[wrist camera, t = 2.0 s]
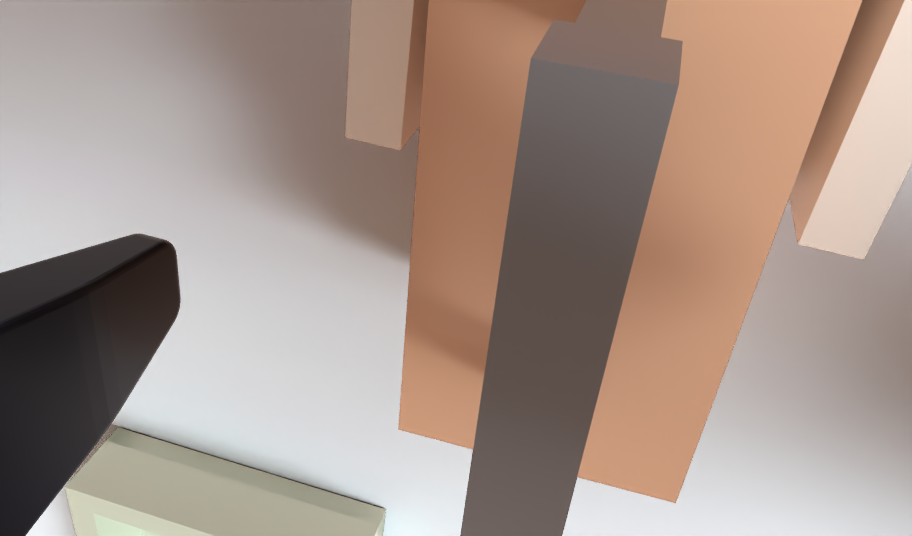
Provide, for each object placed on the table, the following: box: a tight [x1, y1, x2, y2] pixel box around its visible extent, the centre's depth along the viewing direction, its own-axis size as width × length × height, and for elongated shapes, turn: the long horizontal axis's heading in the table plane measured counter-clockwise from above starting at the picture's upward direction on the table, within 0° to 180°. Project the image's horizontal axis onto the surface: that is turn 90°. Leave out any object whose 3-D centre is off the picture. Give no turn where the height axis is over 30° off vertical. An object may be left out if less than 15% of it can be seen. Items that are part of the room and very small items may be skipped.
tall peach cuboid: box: [398, 0, 862, 536], centre depth 12 cm, size 5×10×9 cm, turn 174°
